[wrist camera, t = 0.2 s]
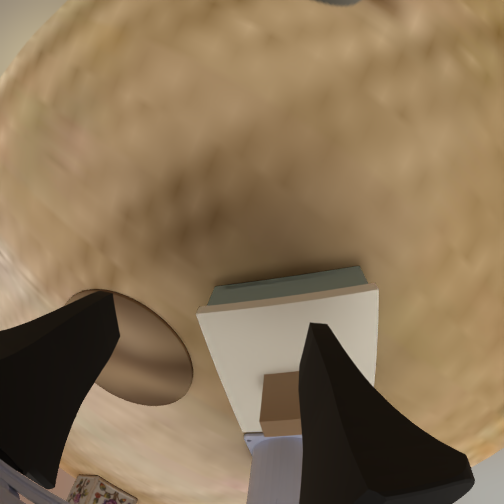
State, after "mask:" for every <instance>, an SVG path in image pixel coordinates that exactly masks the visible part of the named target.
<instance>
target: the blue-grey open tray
mask: <svg viewBox="0 0 504 504" xmlns="http://www.w3.org/2000/svg"><path fill="white" fill-rule="evenodd" d="M363 284H368V282H367V280H366V278H365V276H364V274H363V272H362V270H361V268H360V266H355V267H349V268H342V269H336V270H330V271H323V272H317V273H310V274H303V275H296V276H290V277H283V278H276V279H268V280H261V281H254V282H247V283H239V284H231V285H224V286H216V287H215V288H214V290H213V292H212V295H211V297H210V300H209V302H208V304H207V306H210V305H220V304H229V303H237V302H246V301H254V300H262V299H270V298H277V297H285V296H292V295H299V294H306V293H313V292H320V291H326V290H333V289H339V288H345V287H351V286H357V285H363Z"/></svg>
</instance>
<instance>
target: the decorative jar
mask: <svg viewBox="0 0 504 504" xmlns="http://www.w3.org/2000/svg"><path fill="white" fill-rule="evenodd" d="M66 501H67V502H69V503H71V504H136V503H137V498H135V497H133V496H131V495H129V494H128V493H126V492H124V491H122V490H121V489H119V488H117V487H116V486H114V485H112V484H110V483H109V482H107V481H106V480H104V479H102V478H101V477H99V476H91V475H79V476H78V477H77V479H76V481H75V483H74V485H73V487H72V489H71V491H70V494H69V496H68V498H67V500H66Z"/></svg>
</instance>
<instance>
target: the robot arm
mask: <svg viewBox="0 0 504 504" xmlns="http://www.w3.org/2000/svg"><path fill="white" fill-rule="evenodd" d="M119 338H120V331H119V326H118V321H117V316H116V310H115V304H114V298H113V293H109V292H104V291H97V292H94V293H92V294H89V295H87V296H85V297H82V298H80V299H78V300H76V301H74V302H72V303H70V304H68V305H66V306H63V307H61V308H59V309H57V310H55V311H53V312H51V313H48V314H46V315H44V316H41V317H39V318H37V319H35V320H32V321H30V322H27V323H25V324H22V325H19V326H16V327H13V328H10V329H7V330H3V331H0V504H25V503H24V502H22V501H21V500H20V498H19V494H18V493H20V494H21V495H23V496H24V497H26V498H27V499H28V500H30V501H32V502H33V503H35V504H71V503H69V502H67V501H65V500H63V499H62V498H60V497H58V496H56V495H54V494H52V493H51V492H49V491H47V490H46V489H52V488H54V487H55V483H56V478H57V473H58V468H59V464H60V460H61V456H62V453H63V449H64V446H65V443H66V440H67V437H68V434H69V432H70V429H71V426H72V424H73V421H74V419H75V417H76V415H77V412H78V410H79V408H80V406H81V404H82V402H83V400H84V398H85V397H86V395H87V393H88V392H89V390H90V389H91V387H92V386H93V384H94V382H95V381H96V379H97V378H98V376H99V375H100V373H101V372H102V370H103V368H104V367H105V365H106V364H107V362H108V361H109V359H110V357H111V355H112V353H113V351H114V349H115V347H116V345H117V343H118V340H119ZM298 392H299V404H300V417H301V429H302V435H291V436H277V437H264V434H263V433H252V434H245V435H244V440H245V442H246V444H247V446H248V448H249V451H250V453H251V455H252V465H251V473H250V480H249V488H248V496H247V503H246V504H452V503H454V502H455V501H457V500H458V499H460V498H461V497H462V496H464V495H465V494H466V493H467V492H468V491H469V490H470V489H471V488H472V487H473V485H474V481H475V479H474V476H473V473H472V470H471V467H470V464H469V461H468V458H467V456H466V455H465V454H463V453H461V452H459V451H457V450H455V449H453V448H452V447H450V446H448V445H446V444H444V443H442V442H440V441H439V440H437V439H435V438H434V437H432V436H431V435H429V434H428V433H426V432H425V431H423V430H422V429H420V428H419V427H418V426H416V425H415V424H414V423H412V422H411V421H410V420H408V419H407V418H406V417H405V416H404V415H402V414H401V413H400V412H399V411H398V410H396V409H395V408H394V407H393V406H392V405H391V404H390V403H389V402H388V401H387V400H386V399H385V398H384V397H383V396H382V395H381V394H380V393H379V392H378V391H377V390H376V389H375V388H374V387H373V386H372V385H371V384H370V382H369V381H368V380H367V379H366V378H365V377H364V375H363V374H362V373H361V372H360V370H359V369H358V368H357V366H356V365H355V364H354V362H353V361H352V360H351V358H350V357H349V355H348V354H347V353H346V351H345V350H344V348H343V347H342V345H341V344H340V342H339V341H338V339H337V338H336V336H335V335H334V333H333V332H332V330H331V329H330V327H329V326H328V324H322V323H312V322H310V324H309V328H308V332H307V336H306V340H305V345H304V349H303V353H302V357H301V360H300V364H299V385H298ZM17 471H18V472H17ZM19 472H20V473H21V474H23V475H25V476H26V477H28V478H29V479H31V480H32V481H34V482H36V483H37V484H39V485H40V486H39V485H37V484H36V483H34V482H32V481H31V480H29V479H28V478H26V477H25V476H23V475H21V474H20V473H19ZM41 486H42V487H44V488H45V489H44V488H42V487H41Z"/></svg>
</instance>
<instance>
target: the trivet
mask: <svg viewBox="0 0 504 504" xmlns="http://www.w3.org/2000/svg"><path fill="white" fill-rule="evenodd" d="M97 291H104V292H109V293H113V298H114V304H115V310H116V316H117V321H118V326H119V331H120V338H119V340H118V343H117V345H116V347H115V349H114V351H113V353H112V355H111V357H110V359H109V361H108V362H107V364H106V365H105V367H104V368H103V370H102V372H101V373H100V375H99V376H98V378H97V379H96V381H95V383H96V384H97V385H99V386H100V387H102V388H103V389H104V390H106V391H108V392H109V393H111V394H113V395H115V396H117V397H119V398H122V399H124V400H126V401H130V402H133V403H137V404H141V405H148V406H161V405H167V404H171V403H173V402H176V401H178V400H179V399H181V398H182V397H183V396H184V395H185V394H186V393H187V391H188V390H189V387H190V385H191V382H192V377H193V368H192V363H191V359H190V356H189V354H188V352H187V350H186V348H185V346H184V344H183V343H182V341H181V340H180V338H179V337H178V335H177V334H176V333H175V332H174V331H173V329H172V328H171V327H170V326H169V325H168V324H167V323H166V322H165V321H164V320H163V319H161V318H160V317H159V316H158V315H157V314H156V313H154V312H153V311H151V310H150V309H149V308H147V307H146V306H144V305H142V304H141V303H139V302H137V301H136V300H133V299H131V298H129V297H127V296H125V295H122V294H119V293H116V292H112V291H108V290H100V289H94V290H86V291H82V292H80V293H78V294H76V295H74V296H73V297H72V298H71V299H70V300H69V301H68V302H67V303H66V304H65V306H66V305H68V304H70V303H72V302H74V301H76V300H78V299H80V298H82V297H85V296H87V295H89V294H92V293H94V292H97Z"/></svg>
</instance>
